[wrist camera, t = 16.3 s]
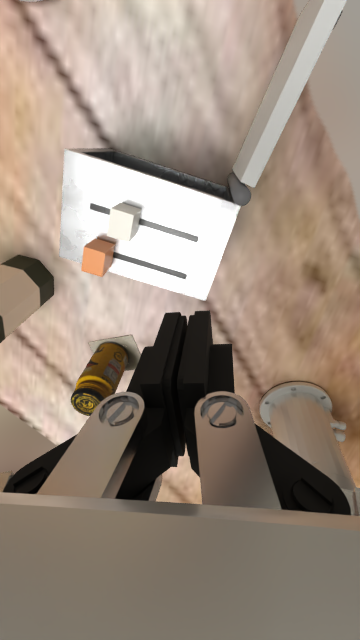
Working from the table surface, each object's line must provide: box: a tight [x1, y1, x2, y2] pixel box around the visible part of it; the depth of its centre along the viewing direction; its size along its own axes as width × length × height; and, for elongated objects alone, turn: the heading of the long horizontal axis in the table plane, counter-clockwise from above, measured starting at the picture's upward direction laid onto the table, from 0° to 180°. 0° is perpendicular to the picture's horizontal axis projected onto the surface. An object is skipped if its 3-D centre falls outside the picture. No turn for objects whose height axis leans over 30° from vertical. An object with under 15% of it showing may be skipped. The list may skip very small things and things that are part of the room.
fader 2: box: [107, 202, 141, 243], centre depth 25 cm, size 2×2×3 cm
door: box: [227, 0, 347, 206], centre depth 25 cm, size 16×2×14 cm, turn 159°
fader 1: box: [81, 238, 115, 277], centre depth 27 cm, size 2×2×3 cm
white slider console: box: [59, 148, 241, 301], centre depth 33 cm, size 16×10×12 cm, turn 74°
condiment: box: [71, 335, 141, 416], centre depth 46 cm, size 7×8×12 cm
